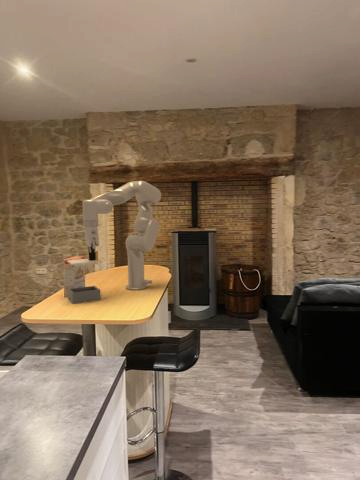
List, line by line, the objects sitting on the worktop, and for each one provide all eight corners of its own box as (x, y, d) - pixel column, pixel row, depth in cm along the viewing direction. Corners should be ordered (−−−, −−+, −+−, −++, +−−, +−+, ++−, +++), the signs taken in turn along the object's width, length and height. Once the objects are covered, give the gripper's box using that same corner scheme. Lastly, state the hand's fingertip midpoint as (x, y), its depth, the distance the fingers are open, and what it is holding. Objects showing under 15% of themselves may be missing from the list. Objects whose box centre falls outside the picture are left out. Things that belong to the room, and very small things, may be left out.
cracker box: (74, 298, 186) (72, 259, 184) (63, 298, 187) (62, 259, 185) (86, 292, 199) (85, 255, 197) (76, 292, 200) (75, 255, 199)
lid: (95, 261, 188) (95, 249, 187) (101, 264, 178) (101, 252, 177) (67, 264, 181) (66, 252, 181) (71, 267, 171) (71, 254, 170)
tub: (95, 296, 190) (94, 285, 189) (100, 301, 180) (100, 289, 179) (68, 300, 183) (67, 288, 182) (72, 305, 173) (72, 293, 173)
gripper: (102, 224, 174) (103, 261, 176) (94, 223, 188) (95, 257, 190) (86, 224, 171) (88, 262, 173) (80, 223, 184) (81, 258, 186)
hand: (92, 259), depth 181 cm, fingers closed on lid, 1 cm apart
